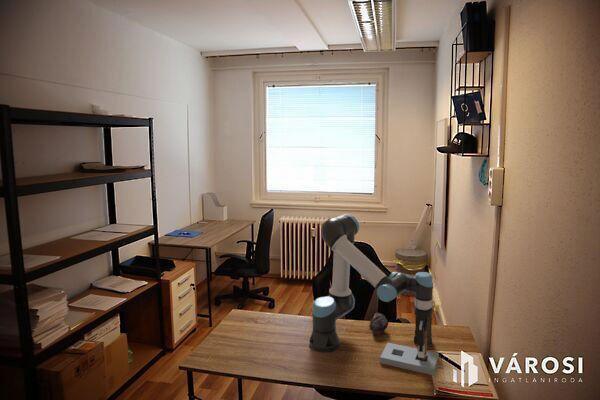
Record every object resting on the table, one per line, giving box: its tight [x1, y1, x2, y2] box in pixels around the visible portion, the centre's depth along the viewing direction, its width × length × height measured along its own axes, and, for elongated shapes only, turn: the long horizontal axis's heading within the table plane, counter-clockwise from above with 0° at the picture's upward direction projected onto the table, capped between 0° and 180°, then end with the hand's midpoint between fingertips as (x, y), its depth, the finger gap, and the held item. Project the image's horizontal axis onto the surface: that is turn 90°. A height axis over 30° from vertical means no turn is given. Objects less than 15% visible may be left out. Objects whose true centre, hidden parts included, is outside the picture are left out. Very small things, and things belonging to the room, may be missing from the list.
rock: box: [368, 312, 389, 336], centre depth 221 cm, size 12×9×10 cm
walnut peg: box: [417, 330, 428, 362], centre depth 189 cm, size 4×4×14 cm
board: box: [379, 342, 439, 376], centre depth 193 cm, size 24×14×3 cm, turn 64°
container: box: [413, 309, 434, 348], centre depth 207 cm, size 9×9×18 cm
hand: (421, 354), depth 190 cm, fingers closed on walnut peg, 4 cm apart
